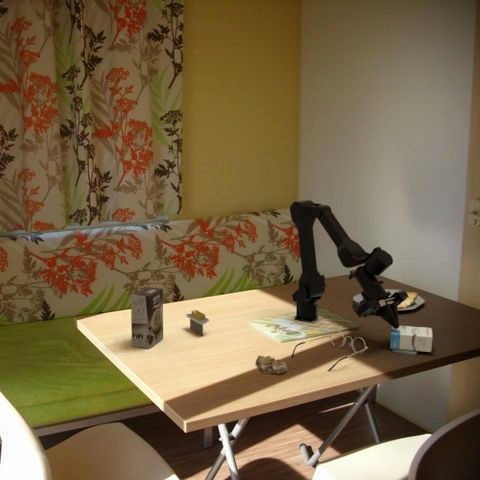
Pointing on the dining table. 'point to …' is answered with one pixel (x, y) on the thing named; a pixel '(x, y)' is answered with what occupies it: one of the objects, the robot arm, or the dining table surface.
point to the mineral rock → (271, 365)
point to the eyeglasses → (339, 346)
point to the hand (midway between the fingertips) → (397, 328)
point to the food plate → (409, 303)
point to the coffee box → (147, 317)
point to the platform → (197, 321)
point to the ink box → (411, 338)
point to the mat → (405, 351)
